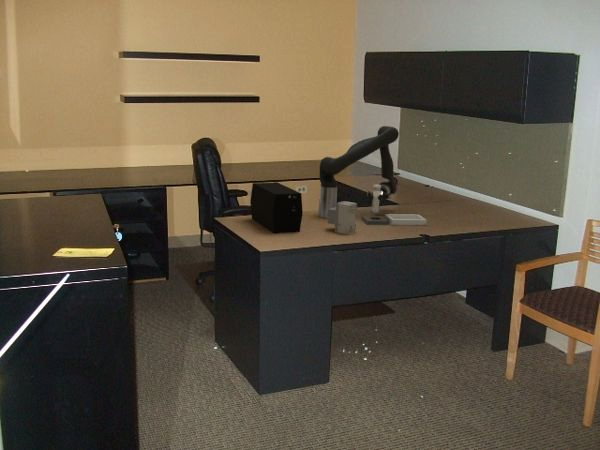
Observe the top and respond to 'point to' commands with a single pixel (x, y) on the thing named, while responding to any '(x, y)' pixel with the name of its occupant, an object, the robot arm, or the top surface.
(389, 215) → the tray
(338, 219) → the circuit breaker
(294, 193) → the uninterruptible power supply
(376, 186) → the fuse
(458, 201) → the top surface
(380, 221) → the fuse holder
